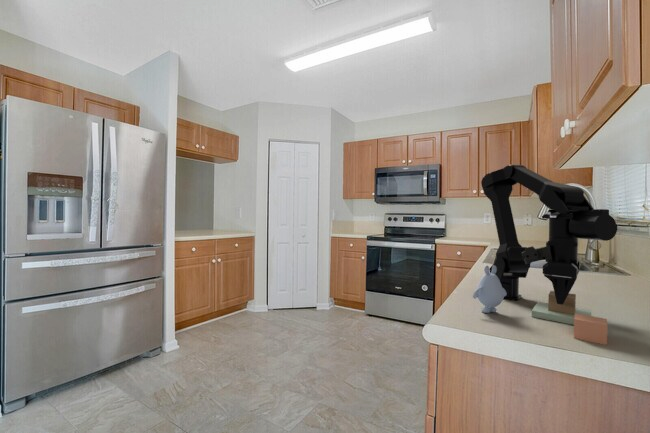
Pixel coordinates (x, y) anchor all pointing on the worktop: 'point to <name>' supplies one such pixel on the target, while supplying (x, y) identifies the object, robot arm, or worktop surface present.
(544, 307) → the base plate
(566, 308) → the walnut brick
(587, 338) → the terracotta brick
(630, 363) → the worktop surface
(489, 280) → the toy figure
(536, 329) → the worktop surface
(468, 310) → the worktop surface
